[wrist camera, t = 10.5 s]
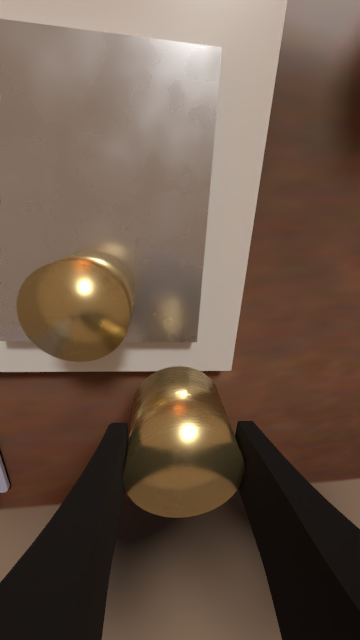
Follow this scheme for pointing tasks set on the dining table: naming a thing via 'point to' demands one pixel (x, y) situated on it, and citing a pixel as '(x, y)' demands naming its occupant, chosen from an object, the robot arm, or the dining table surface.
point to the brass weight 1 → (77, 306)
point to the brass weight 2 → (180, 446)
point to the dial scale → (227, 165)
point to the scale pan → (107, 165)
